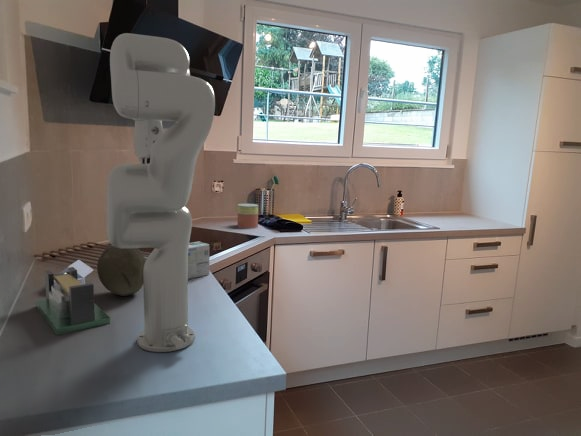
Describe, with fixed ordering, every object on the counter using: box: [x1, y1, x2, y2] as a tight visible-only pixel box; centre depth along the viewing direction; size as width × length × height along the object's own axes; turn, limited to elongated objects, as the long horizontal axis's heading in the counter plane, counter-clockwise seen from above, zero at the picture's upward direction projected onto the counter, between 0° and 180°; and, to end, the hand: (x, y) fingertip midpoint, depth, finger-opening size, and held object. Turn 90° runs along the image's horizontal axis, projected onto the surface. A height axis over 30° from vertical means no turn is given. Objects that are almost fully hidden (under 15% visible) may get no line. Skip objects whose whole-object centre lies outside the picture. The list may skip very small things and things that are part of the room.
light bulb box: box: [188, 240, 210, 280], centre depth 151 cm, size 11×7×11 cm, turn 134°
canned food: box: [236, 203, 259, 230], centre depth 243 cm, size 11×11×12 cm
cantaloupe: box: [96, 244, 147, 297], centre depth 130 cm, size 14×14×15 cm
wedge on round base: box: [54, 259, 94, 290], centre depth 136 cm, size 9×7×13 cm
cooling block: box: [35, 267, 111, 336], centre depth 114 cm, size 22×12×10 cm, turn 40°
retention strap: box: [53, 272, 82, 296], centre depth 114 cm, size 19×4×2 cm, turn 40°
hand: (148, 183), depth 123 cm, fingers closed
